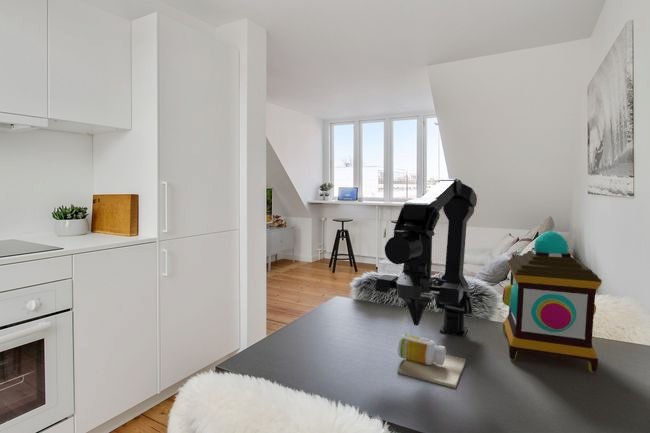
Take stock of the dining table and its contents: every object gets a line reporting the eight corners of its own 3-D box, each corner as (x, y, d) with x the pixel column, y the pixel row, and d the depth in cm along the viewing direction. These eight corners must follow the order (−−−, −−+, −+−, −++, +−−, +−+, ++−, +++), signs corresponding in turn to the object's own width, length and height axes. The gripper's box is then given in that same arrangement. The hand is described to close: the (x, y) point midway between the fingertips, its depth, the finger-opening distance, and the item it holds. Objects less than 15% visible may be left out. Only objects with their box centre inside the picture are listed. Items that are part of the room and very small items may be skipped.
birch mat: (414, 350, 92) (414, 347, 92) (465, 361, 86) (465, 359, 86) (397, 372, 81) (397, 370, 81) (455, 388, 75) (455, 385, 75)
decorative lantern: (607, 379, 79) (617, 239, 76) (503, 362, 86) (510, 233, 83) (580, 342, 97) (587, 228, 95) (497, 331, 104) (502, 225, 102)
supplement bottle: (398, 362, 86) (441, 374, 81) (396, 343, 84) (440, 354, 79) (405, 346, 90) (446, 357, 85) (404, 328, 88) (446, 338, 83)
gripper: (365, 259, 81) (364, 328, 82) (455, 269, 72) (452, 347, 73) (383, 251, 90) (382, 313, 92) (464, 259, 81) (461, 328, 82)
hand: (416, 324), depth 84 cm, fingers closed
